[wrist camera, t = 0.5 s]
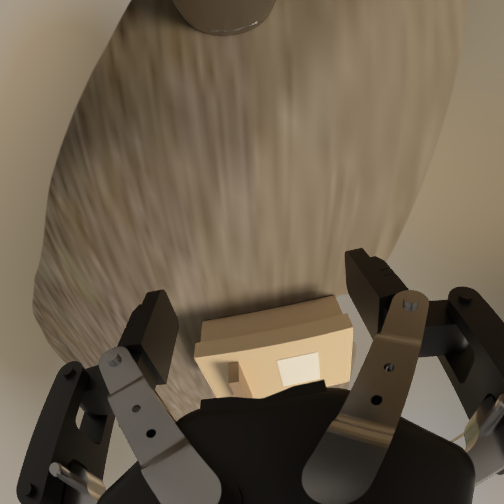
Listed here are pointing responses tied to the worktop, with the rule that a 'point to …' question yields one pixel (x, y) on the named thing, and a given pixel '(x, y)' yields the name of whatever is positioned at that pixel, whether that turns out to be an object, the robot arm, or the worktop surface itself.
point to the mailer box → (270, 319)
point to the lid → (278, 358)
